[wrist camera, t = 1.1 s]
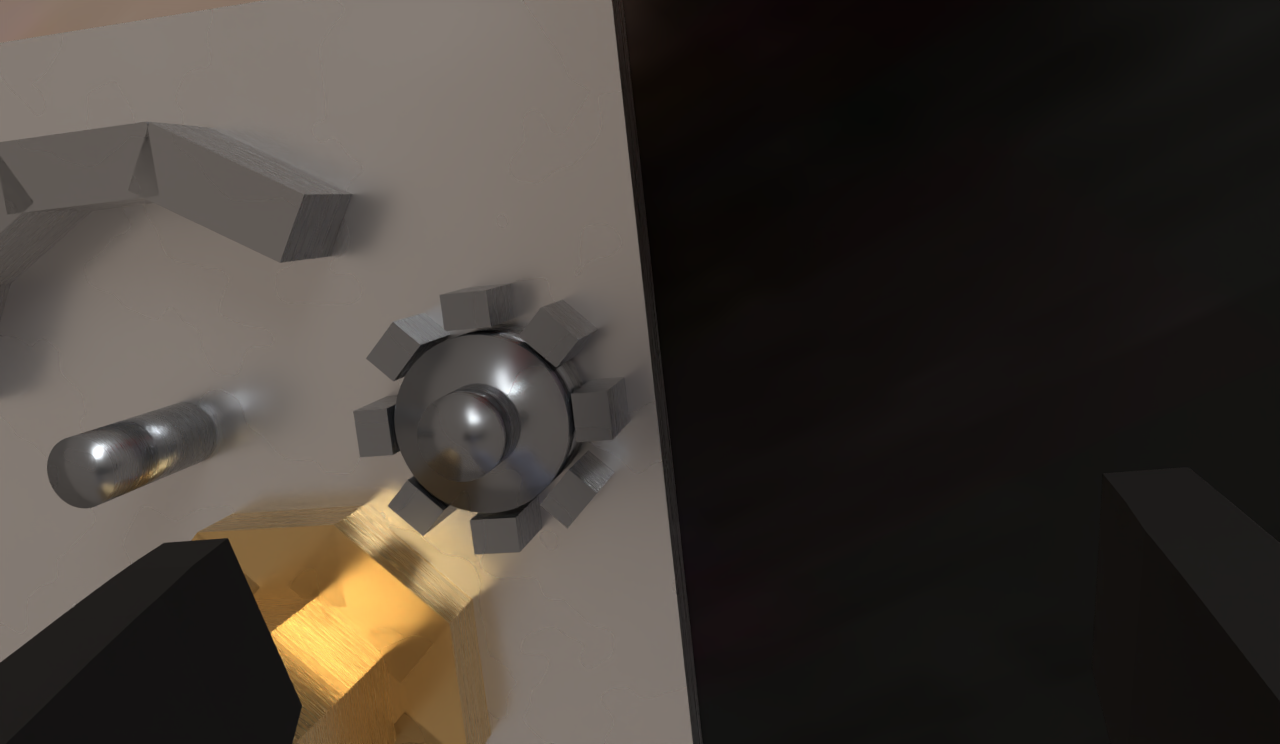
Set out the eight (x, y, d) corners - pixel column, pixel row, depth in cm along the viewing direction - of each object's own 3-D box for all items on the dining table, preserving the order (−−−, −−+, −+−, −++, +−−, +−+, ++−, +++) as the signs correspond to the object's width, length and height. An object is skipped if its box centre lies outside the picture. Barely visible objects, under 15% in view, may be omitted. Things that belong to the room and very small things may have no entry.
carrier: (706, 774, 21) (674, 905, 17) (23, 779, 24) (-135, 892, 20) (618, -42, 19) (558, -102, 15) (-118, 74, 22) (-325, 49, 18)
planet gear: (503, 827, 21) (399, 1018, 16) (199, 827, 22) (18, 1003, 17) (458, 500, 20) (334, 598, 15) (144, 519, 21) (-62, 614, 17)
